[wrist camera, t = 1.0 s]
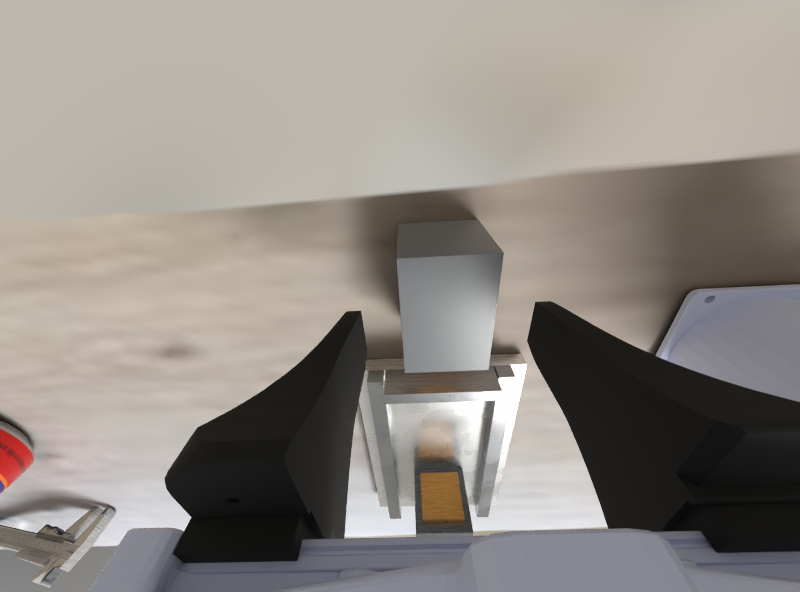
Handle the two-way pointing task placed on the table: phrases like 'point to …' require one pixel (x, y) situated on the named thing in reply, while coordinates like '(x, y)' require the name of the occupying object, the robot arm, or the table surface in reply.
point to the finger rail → (440, 438)
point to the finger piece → (447, 294)
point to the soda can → (13, 454)
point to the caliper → (56, 543)
